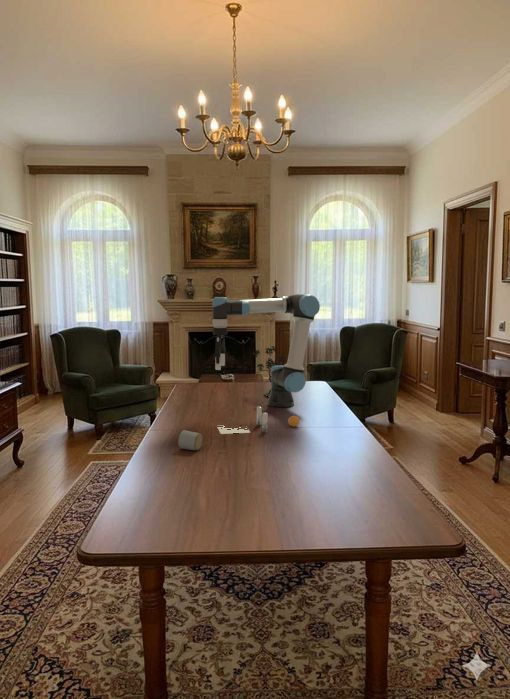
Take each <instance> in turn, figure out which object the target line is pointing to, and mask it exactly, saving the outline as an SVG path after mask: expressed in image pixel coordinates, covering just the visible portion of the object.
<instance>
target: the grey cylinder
mask: <svg viewBox="0 0 510 699" xmlns="http://www.w3.org/2000/svg"><path fill="white" fill-rule="evenodd" d="M202 445H203V435H202V434H201V433H199V432H194V431H192V430H191V431H189V430H186V429H184V430H182V431H181V432H180V433H179V435H178V448H180V449H181V450H189V451H199V450H200V449H201V447H202Z"/></svg>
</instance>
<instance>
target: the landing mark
mask: <svg viewBox="0 0 510 699" xmlns="http://www.w3.org/2000/svg"><path fill="white" fill-rule="evenodd" d="M222 426H223V427H217V426H216V427H217V430H218V431H219V434H220V435H234V434H233V433H239V434H250V433H251V431H250V430H249V429H248V430H244V429H239V430H237V429H238V428H234V429H232V428H224V427H225V426H224V425H222ZM221 428H222V429H221ZM239 428H241V427H239ZM247 428H248V427H247ZM247 428H245V429H247ZM227 429H231V430H227Z"/></svg>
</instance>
